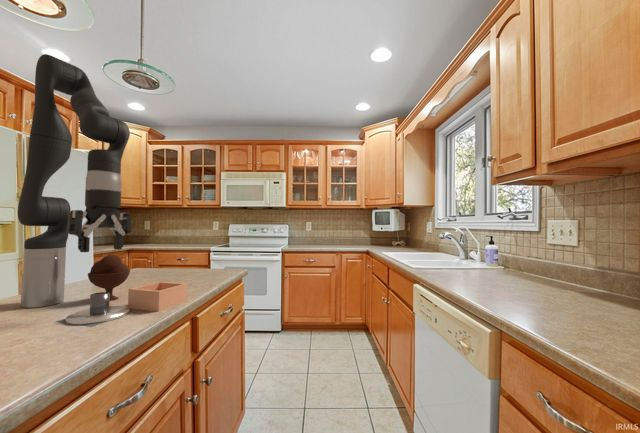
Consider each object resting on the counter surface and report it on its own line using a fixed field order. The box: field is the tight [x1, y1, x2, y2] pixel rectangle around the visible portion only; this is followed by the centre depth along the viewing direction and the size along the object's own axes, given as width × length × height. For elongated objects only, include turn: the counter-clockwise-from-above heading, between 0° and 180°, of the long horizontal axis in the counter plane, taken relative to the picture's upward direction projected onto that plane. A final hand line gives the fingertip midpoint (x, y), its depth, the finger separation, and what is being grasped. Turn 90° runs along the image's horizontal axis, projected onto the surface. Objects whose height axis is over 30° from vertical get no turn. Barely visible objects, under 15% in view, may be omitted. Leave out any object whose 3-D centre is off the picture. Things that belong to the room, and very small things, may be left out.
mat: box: [55, 309, 139, 328], centre depth 71 cm, size 12×12×1 cm
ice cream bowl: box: [87, 254, 131, 302], centre depth 88 cm, size 11×11×15 cm
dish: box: [127, 281, 189, 312], centre depth 82 cm, size 11×11×6 cm
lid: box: [65, 291, 131, 326], centre depth 71 cm, size 13×13×6 cm
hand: (102, 250), depth 72 cm, fingers open, 8 cm apart
